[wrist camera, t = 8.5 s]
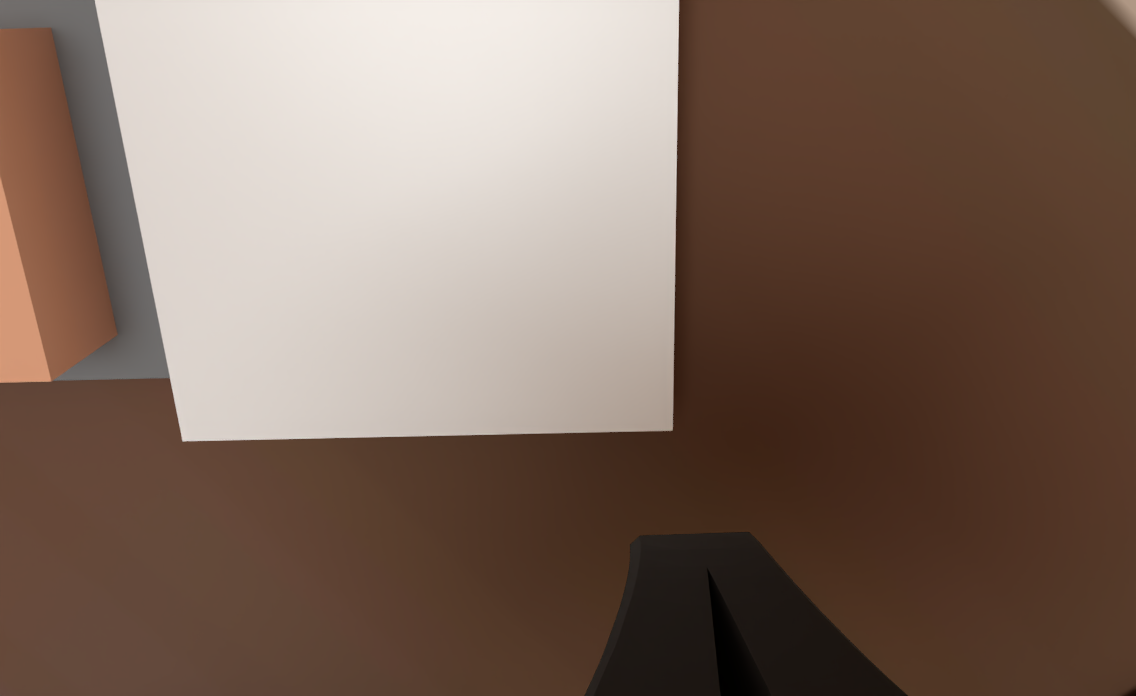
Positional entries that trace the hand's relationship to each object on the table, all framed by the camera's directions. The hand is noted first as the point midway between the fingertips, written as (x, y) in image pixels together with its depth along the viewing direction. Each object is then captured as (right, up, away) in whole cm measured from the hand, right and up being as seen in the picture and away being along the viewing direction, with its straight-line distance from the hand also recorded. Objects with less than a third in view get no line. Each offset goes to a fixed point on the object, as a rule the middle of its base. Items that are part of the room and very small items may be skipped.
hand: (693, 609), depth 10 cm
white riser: (-4, +6, +8) cm, 11 cm away
